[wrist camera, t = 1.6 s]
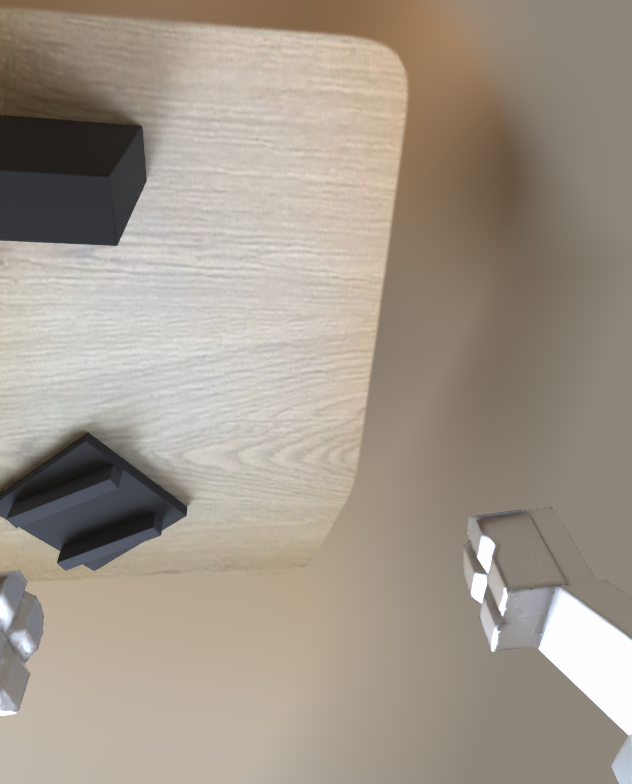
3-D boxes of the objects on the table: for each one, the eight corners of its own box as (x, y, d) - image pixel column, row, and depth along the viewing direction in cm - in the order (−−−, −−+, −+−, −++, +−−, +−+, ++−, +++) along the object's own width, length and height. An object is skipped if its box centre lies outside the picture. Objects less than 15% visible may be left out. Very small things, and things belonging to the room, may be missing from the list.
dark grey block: (142, 125, 31) (109, 175, 23) (146, 181, 32) (117, 246, 24) (-15, 113, 30) (-108, 161, 22) (-1, 172, 31) (-83, 237, 23)
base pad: (187, 507, 48) (185, 530, 46) (96, 562, 51) (90, 586, 49) (88, 432, 43) (80, 455, 40) (-9, 499, 45) (-21, 524, 43)
